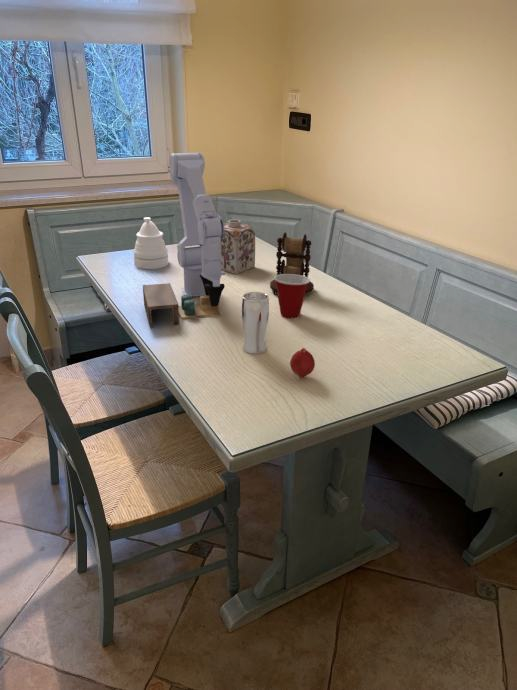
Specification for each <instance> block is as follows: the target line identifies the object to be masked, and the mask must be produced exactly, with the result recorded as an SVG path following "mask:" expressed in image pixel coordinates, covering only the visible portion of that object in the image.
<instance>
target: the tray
mask: <svg viewBox="0 0 517 690" xmlns="http://www.w3.org/2000/svg"><path fill="white" fill-rule="evenodd" d="M180 299H181V300H180V302H181V304H180V305H179V307H178V311H179V318H180V319H181V320H187V319H188V320H189V319H197V318H204V317H205V318H206V317H214V316H216V317H217V316H221V315H222V313H221V311H220V310H219V308H218V307H219V305H218V306H211V303H210V298H209V295H207V296H199V300H200V301H199V302H200V303H195V302H196V301H195V300H193V298H192V296H191V295H184V294H183V295H181V296H180Z"/></svg>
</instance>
